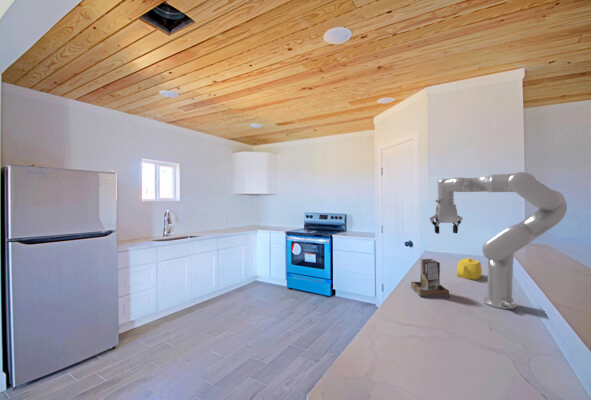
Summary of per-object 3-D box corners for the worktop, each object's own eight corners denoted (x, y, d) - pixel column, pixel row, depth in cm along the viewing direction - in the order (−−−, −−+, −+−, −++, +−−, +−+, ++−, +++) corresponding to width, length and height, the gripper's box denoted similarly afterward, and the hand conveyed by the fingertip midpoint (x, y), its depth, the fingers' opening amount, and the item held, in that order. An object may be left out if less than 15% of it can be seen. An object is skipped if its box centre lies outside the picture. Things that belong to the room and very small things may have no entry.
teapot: (475, 282, 165) (476, 262, 165) (453, 278, 174) (453, 259, 174) (484, 275, 179) (484, 257, 178) (462, 271, 188) (462, 254, 187)
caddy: (449, 297, 140) (449, 290, 140) (420, 297, 141) (420, 290, 141) (436, 288, 154) (436, 282, 154) (411, 287, 155) (411, 281, 155)
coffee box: (440, 293, 143) (440, 262, 143) (427, 293, 143) (427, 262, 143) (431, 287, 152) (431, 258, 152) (419, 287, 152) (420, 258, 152)
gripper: (433, 202, 146) (433, 234, 146) (465, 201, 146) (466, 233, 146) (426, 201, 154) (427, 232, 154) (457, 201, 154) (458, 232, 154)
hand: (446, 233), depth 150 cm, fingers open, 9 cm apart
